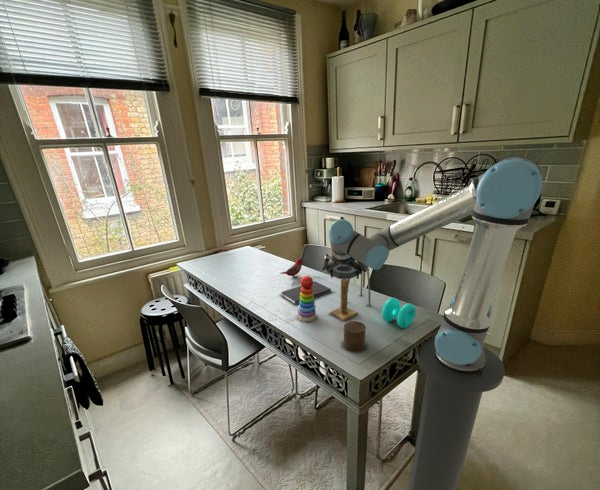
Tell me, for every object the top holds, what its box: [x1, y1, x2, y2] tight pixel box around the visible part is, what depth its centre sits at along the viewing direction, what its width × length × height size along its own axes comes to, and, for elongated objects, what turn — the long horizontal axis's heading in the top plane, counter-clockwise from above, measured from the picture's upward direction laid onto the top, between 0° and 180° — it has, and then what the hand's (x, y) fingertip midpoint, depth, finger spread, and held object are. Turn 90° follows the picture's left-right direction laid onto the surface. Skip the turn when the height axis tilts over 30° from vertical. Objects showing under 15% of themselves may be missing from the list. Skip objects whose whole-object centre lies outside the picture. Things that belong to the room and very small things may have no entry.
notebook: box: [280, 280, 331, 305], centre depth 155 cm, size 13×2×21 cm
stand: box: [343, 320, 367, 353], centre depth 113 cm, size 8×8×8 cm
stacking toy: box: [297, 275, 317, 322], centre depth 130 cm, size 8×8×19 cm
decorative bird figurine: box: [280, 257, 304, 279], centre depth 171 cm, size 3×18×10 cm, turn 136°
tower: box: [330, 279, 358, 322], centre depth 132 cm, size 8×8×16 cm
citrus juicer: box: [347, 266, 371, 307], centre depth 138 cm, size 11×10×30 cm
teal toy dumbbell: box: [381, 297, 417, 329], centre depth 125 cm, size 10×10×10 cm
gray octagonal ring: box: [333, 265, 357, 280], centre depth 127 cm, size 10×10×2 cm
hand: (344, 275), depth 131 cm, fingers closed on gray octagonal ring, 10 cm apart
